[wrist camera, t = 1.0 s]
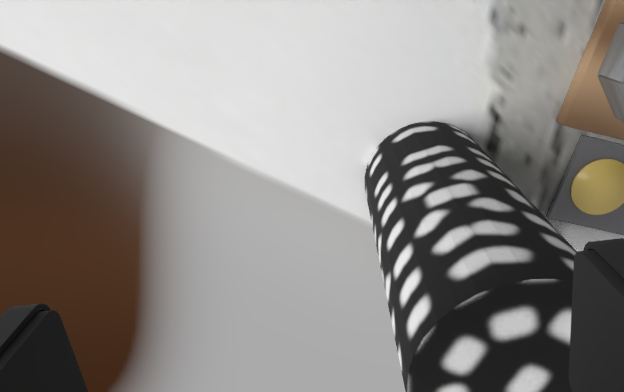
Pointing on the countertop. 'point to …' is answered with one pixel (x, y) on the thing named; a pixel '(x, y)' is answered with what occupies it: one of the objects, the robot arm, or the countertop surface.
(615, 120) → the double cup sorting tray
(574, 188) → the card
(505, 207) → the spotted tube
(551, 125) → the countertop surface
